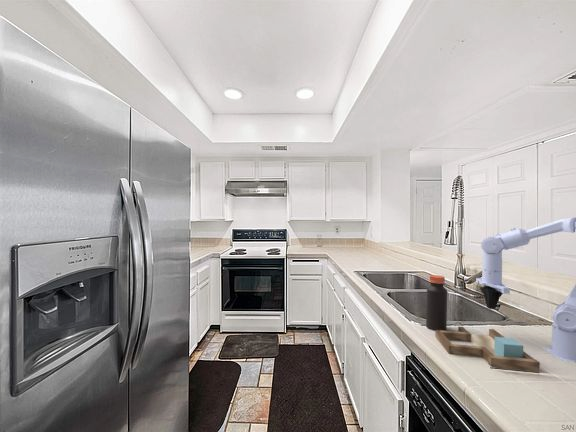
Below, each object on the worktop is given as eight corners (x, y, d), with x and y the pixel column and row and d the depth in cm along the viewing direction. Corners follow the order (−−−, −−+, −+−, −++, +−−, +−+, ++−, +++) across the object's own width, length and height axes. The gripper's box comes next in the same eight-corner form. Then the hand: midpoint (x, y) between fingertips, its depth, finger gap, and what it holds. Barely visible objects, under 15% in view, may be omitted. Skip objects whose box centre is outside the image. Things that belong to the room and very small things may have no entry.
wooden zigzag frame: (494, 337, 100) (494, 329, 100) (539, 373, 77) (539, 362, 77) (430, 332, 103) (430, 324, 103) (456, 365, 81) (456, 354, 81)
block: (512, 354, 86) (512, 338, 86) (522, 362, 82) (523, 345, 81) (494, 352, 87) (494, 336, 87) (503, 361, 82) (504, 344, 82)
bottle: (448, 329, 106) (449, 276, 106) (443, 334, 101) (444, 279, 101) (429, 324, 111) (430, 273, 111) (423, 329, 106) (424, 276, 106)
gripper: (468, 266, 108) (467, 301, 108) (494, 274, 94) (493, 315, 94) (487, 266, 108) (486, 302, 108) (516, 275, 94) (515, 315, 94)
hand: (491, 308), depth 101 cm, fingers closed
